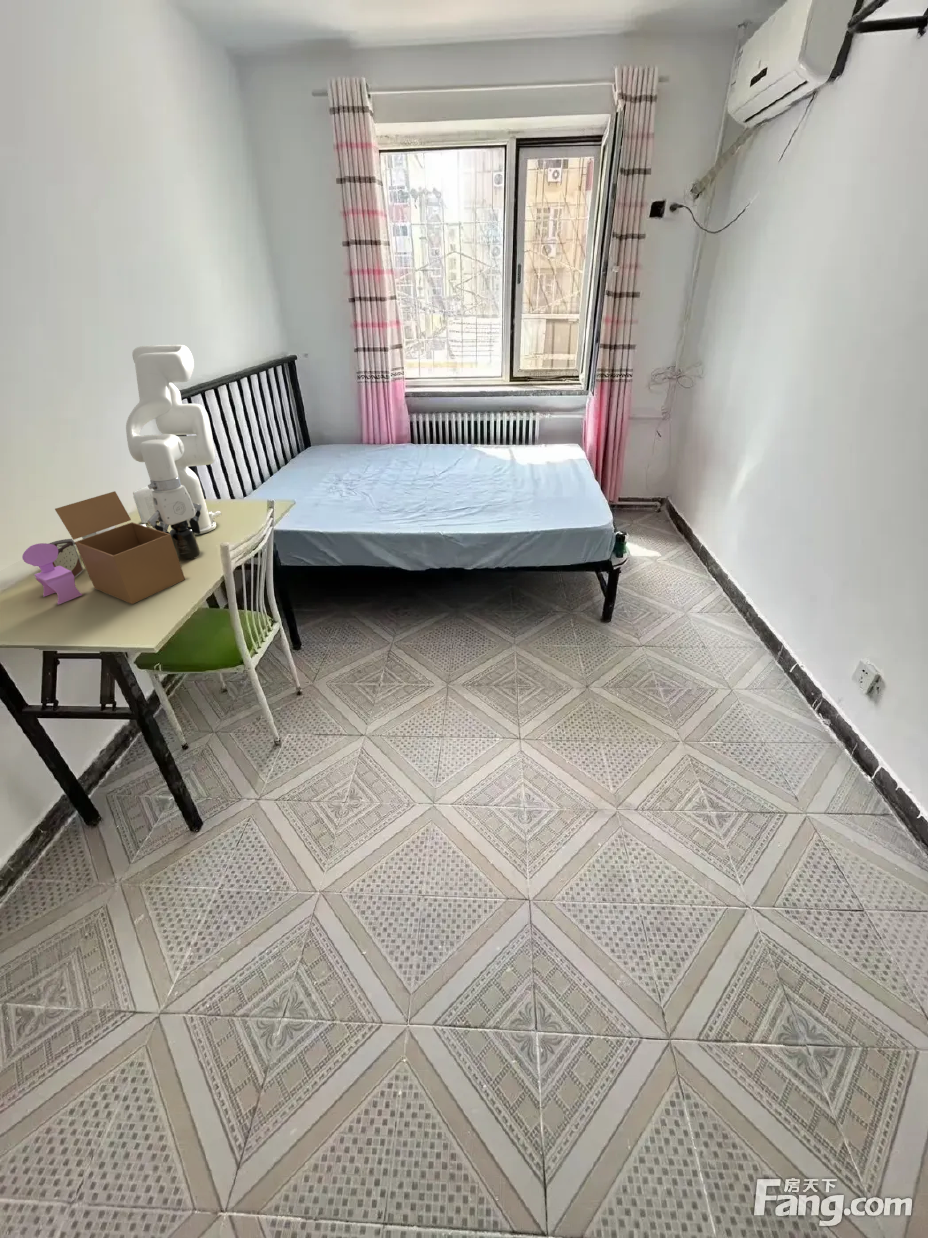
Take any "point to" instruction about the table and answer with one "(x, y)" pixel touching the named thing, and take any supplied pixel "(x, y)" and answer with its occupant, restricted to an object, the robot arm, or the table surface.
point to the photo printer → (144, 503)
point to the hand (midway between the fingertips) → (182, 538)
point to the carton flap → (93, 515)
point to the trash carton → (131, 561)
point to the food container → (67, 556)
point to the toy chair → (51, 572)
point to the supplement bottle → (184, 541)
